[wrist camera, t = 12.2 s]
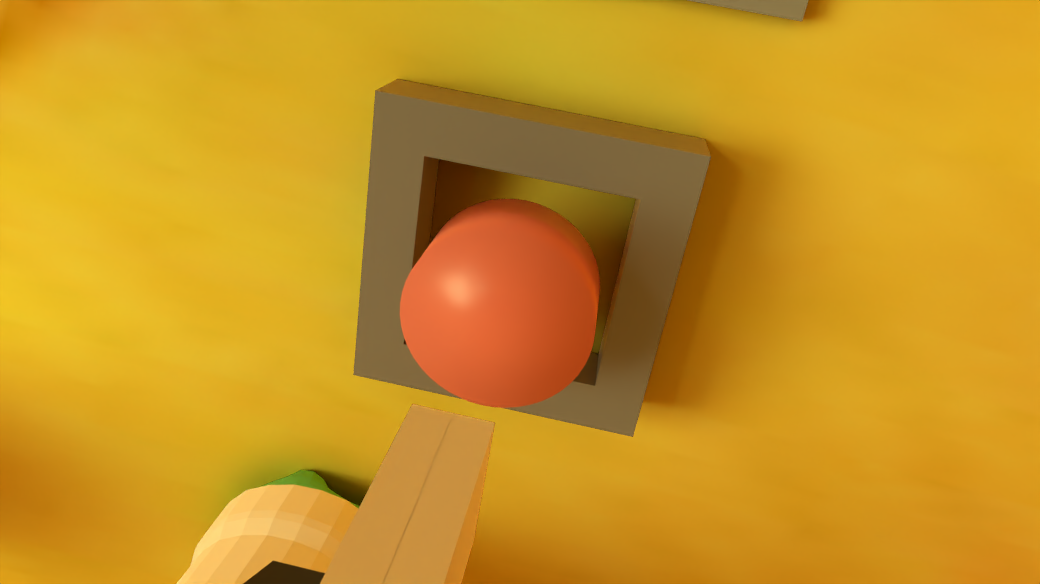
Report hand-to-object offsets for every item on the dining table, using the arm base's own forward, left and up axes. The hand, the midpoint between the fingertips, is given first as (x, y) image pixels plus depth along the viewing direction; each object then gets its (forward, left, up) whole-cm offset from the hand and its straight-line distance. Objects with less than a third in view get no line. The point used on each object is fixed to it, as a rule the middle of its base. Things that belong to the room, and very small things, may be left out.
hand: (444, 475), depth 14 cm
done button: (0, 0, -9) cm, 9 cm away
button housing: (0, 0, -11) cm, 11 cm away
